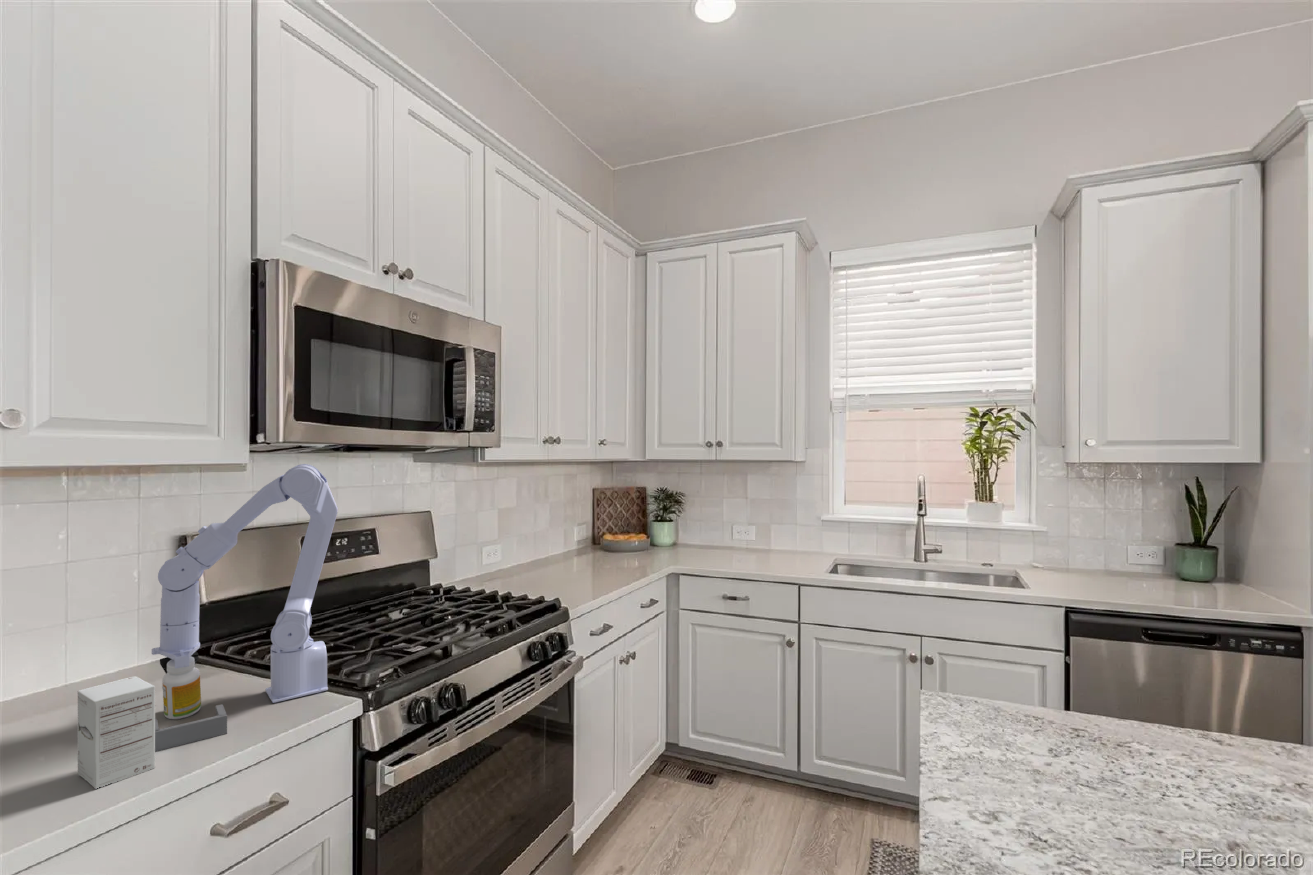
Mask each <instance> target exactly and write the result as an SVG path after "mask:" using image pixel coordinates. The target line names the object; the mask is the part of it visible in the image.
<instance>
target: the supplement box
mask: <svg viewBox="0 0 1313 875" xmlns="http://www.w3.org/2000/svg"><path fill="white" fill-rule="evenodd" d="M155 719H156V686H155V685H154V684H152V683H150V682H148V681H146V680H144V679H142V678H140V677H139V676H137V675H135V676H130V677H125V678H121V679H116V680H114V681H110V682H106V683H102V684H99V685H94V686H90V687H87V688H83V689H79V690H77V775H78V776H79V777H81V778H82V779H84V780H85V781H87V783H89V785H90V786H92V787H93V788H94V789H96V790H97V788H98V789H100V788H99V787H101V788H103V786H104V787H106V786H105V785H107V786H109V785H108V784H110V783H112V784H115V783H117V781H118V782H120V780H121V781H124V780H125V779H129V778H131V777H134V776H133V775H135V776H137V775H136V774H138V775H140V774H143V773H146V772H148V770H149V771H150V769H151V770H153V769H155V768H156V751H155ZM145 771H146V772H145ZM142 772H143V773H142ZM110 785H111V784H110Z"/></svg>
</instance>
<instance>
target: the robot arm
mask: <svg viewBox="0 0 1313 875" xmlns="http://www.w3.org/2000/svg"><path fill="white" fill-rule="evenodd" d="M290 498H292V499H293V500H295V501H296V502H298V503H300V505H301V507H302V508H304V510H305V512H307V514H308V515H309V516H310V518H309V522H308V526H307V528H306V532H305V535H304V540H303V543H302V547H301V550H300V552H299V557H298V559H297V563H296V567H295V570H294V573H293V574H294V575H293V578H292V580H291V583H290V584H291V585H290V589H289V591H288V594H287V598H286V602H285V604H284V608H283V610H282V611H281V612H280V613H279V614H278V616H277V617H276V620H275V624H274V625H273V627H272V630H271V632H270V640H271V643H272V644H271V645H270V687H265V690H264V691H265V693H266V694H267V696H268V698H269V699H270V701H271V703H272V704H273V703H279V702H284V701H288V700H291V699H296V698H300V697H301V698H302V697H304V696H309V695H313V694H317V693H318V694H319V693H321V692H326V691H328V690H329V687H328V653H327V647H326V644H325V642H324V641H323V640H319V641H318V640H317V641H314V638H312V637H311V636H310V628H311V626H312V622H313V618H312V614H311V609H312V608H311V607H312V605H313V601H314V598H315V593H316V590H317V586H318V582H319V579H320V577H321V572H322V570H323V565H324V561H325V558H326V555H327V551H328V547H329V544H330V541H331V537H332V533H333V529H334V527H335V523H336V519H337V516H338V513H339V512H338V510H339V508H338V504H337V502H336V500H335V498H334V495H333V493H332V490H331V488H330V486H329V481H328V479H327V478H326V477H325V475H323V474H322V472H321V471H320V470H319V469H318V468H317V467H316V466H314V465H312V464H308V463H307V464H306V463H303V464H301V463H300V464H297V465H296V466H293V467H291V468H290V469H289V468H288V470H287V471H286V472H285V473H284V474H282V475H279V476H278V477H277V478H275V479H273V480H272V481H270V482H269V483H267V484H266V485H264V486H262V488H261V489H260V490H258V491H257V492H256V493H255V494H254V495H253V496H252V497H250V499H249V500H248V501H247V502H245V503H244V504H243V505H242V506H241V507H239V509H238V510H236V511H235V513H233V514H232V515H231V516H229V518H227V520H226V521H225V522H212V523H210V524H209V525H208V526H207V525H203V526H202V527H201V528H199V529H198V530H197V532H198V533H199V534H198V535H197V536H196V537H195V538H193V539H192V540H190V542H188V543H187V544H186V545H185V546H184V547H183V546H180V547H179V548H178V549H176V550H175V553H176V554H177V555H175V556H173V557H172V558H169V559H167V560H166V561H165V562H164V563H163V564H162V565H161V566H160V568H159V570H158V572H157V580H158V582H159V584H160V585H161V598H160V621H159V622H160V623H159V625H160V627H159V630H160V631H159V646H158V647H152V649H151V655H153V656H156V655H160V656H164V657H162V658H160V659H159V665H160V667H161V668H162V669H163V671H164V673H165V674H166V673H168V672H167V663H168V662H169V661H170V660H172V659H173V660H174V661H175V669H176V668H181V667H187V666H189V657H190V656H192V657H194V659H195V665H196V664H197V662H198V660H199V653H198V652H197V651H198V650H199V649H200V648H201V642H200V608H201V607H200V606H201V605H200V602H201V600H200V599H201V598H200V596H201V595H200V580H199V579H200V578H202V576H203V574H204V571H206V570H209V569H211V568H212V567H214V565H215V564H216V563H218V561H220V560H221V559H222V558H223V557H224V556H225V555H226V554H228V553H229V552H230V551H231V550H232V549H233V548H234V547H235V546H237V544H238V537H239V536H238V535H239V533H240V532H241V531H242V530H243V529H245V528H246V527H247V526H248V525H249V524H251V523H253V521H254V520H256V519H257V518H258V517H259V516H260V515H261V514H262V513H264V512H265V511H266V510H267V509H269V508H270V507H271V506H272V505H276V504H280V503H284V502H287V501H288V500H290Z"/></svg>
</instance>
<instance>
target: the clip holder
mask: <svg viewBox="0 0 1313 875" xmlns="http://www.w3.org/2000/svg"><path fill="white" fill-rule="evenodd" d="M158 722H159V721H158V719H157V718H155V752H159V751H163V750H167V749H171V748H176V747H180V746H182V745H186V744H191V743H195V742H198V741H202V740H203V741H204V740H207V739H211V738H214V737H219V736H222V735H226V734H228V715H227V711H226V709H225V707H224V705H223V703H222V704H217V705H215V715H214V716H211V717H206V718H201V719H198V720H194V721H189V722H185V723H181V724H176V725H172V726H168V727H163V728H160V727H159V723H158Z"/></svg>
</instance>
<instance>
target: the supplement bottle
mask: <svg viewBox="0 0 1313 875" xmlns="http://www.w3.org/2000/svg"><path fill="white" fill-rule="evenodd" d="M167 672H168V673H165V675H164V676H163V677H162V699H163V701H162V702H163V715H164V716H165V718H166V719H169V720H180V719H185V718H188V717H191V716H193V715H195V714H197V712H199V710H201V707H202V697H201V695H202V694H201V671H200V669H199V668H197V667H196V664H195V659H194V657H192V656H190V657H189V666H187V667H181V668H176V669H175V661H174V660H173V659H172V660H170V661H169V662H168V663H167Z"/></svg>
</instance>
